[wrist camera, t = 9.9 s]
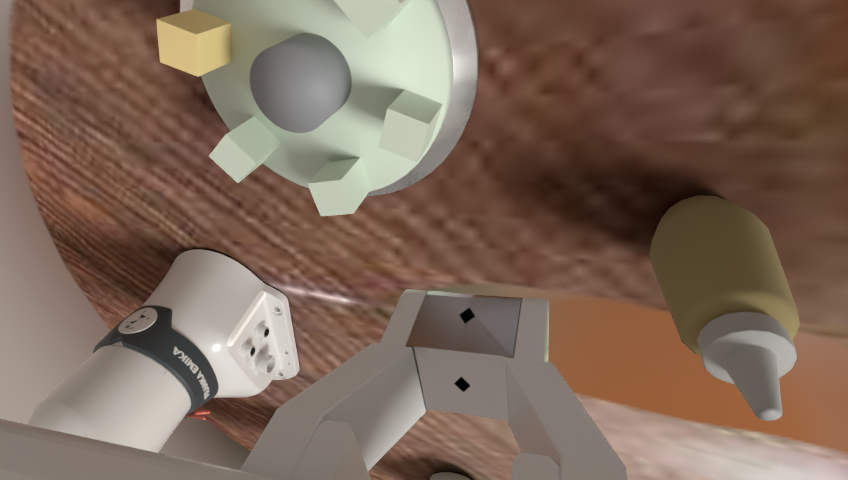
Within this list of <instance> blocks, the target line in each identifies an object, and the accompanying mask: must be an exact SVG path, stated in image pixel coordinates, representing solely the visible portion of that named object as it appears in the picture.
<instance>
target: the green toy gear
mask: <svg viewBox="0 0 848 480" xmlns="http://www.w3.org/2000/svg"><path fill="white" fill-rule="evenodd" d="M156 20H157V31H158V43H159V54H160V62H161V63H164V64H166V65H169V66H171V67H174V68H177V69H179V70H182V71H184V72H187V73H189V74H192V75H195V76H197V77H199V76H201V78H202V81H203V83H204V85H205V88H206V90H207V92H208V95H209V97H210V99H211V101H212V103H213V104H214V106H215V108H216V110H217V112H218V113H219V115H220V116H221V118H222V119H223V121H224V122H225V124H226V125H227V127H228V128H229V129H230V132H229V133H227V134H226V135H225V136H224V137H223V139H222V140H221V141H220V142H219V144H218V145H217V146H216V148H215V149H214V150H213V151H212V153H211V154H210V155H209V157H210V158H211V159H212V160H213V161H215V162H216V163H217V164H218V165H219V166H220V167H221V168H222V169H223V170H224V171H225V172H226V173H227V174H229V175H230V176H231V177H232V178H233V179H234V180H235V181H236V182H237V183H239V182H240V181H241V180H242V179H244V178H245V177H246V176H247V175H248V174H250V173H251V172H252V171H253V170H255V169H256V168H257V167H258V166H259V165H261V164H262V163H263V164H265V165H266V166H267V167H269V168H270V169H271V170H273V171H274V172H276V173H278V174H279V175H281V176H283V177H285V178H286V179H288V180H290V181H293V182H295V183H297V184H299V185H301V186H304V187H307V188H309V189H310V191H311V194H312V196H313V198H314V201H315V203H316V206H317V208H318V211H319V213H320V216H330V215H342V214H353V213H354V212H355V211H356V209H357V208H358V207H359V205H360V204H361V202H362V201H363V200H364V198H365V197H366V196H367V194H368V193H369V192H371V191H374V190H377V189H381V188H384V187H386V186H388V185H390V184H392V183H394V182H396V181H397V180H399V179H400V178H402V177H403V176H405V175H406V174H408V173H409V172H410V171H411V170H412V169H413V168H414V167H415V166H416V165H417V164H418V163H419V162H420V161H421V159H422V158H423V157H424V156H425V154H426V153H427V151H428V150H429V148H430V147H431V145H432V143H433V142H434V140H435V138H436V136H437V135H438V133H439V131H440V130H441V128H442V125H443V123H444V120H445V118H446V115H447V112H448V108H449V104H450V100H451V95H452V87H453V57H452V49H451V42H450V38H449V34H448V30H447V26H446V23H445V20H444V17H443V15H442V12H441V10H440V7H439V5H438V2H437V0H193V5H192V10H188V11H185V12H181V13H177V14H174V15H170V16H166V17H163V18H159V19H156Z"/></svg>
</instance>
